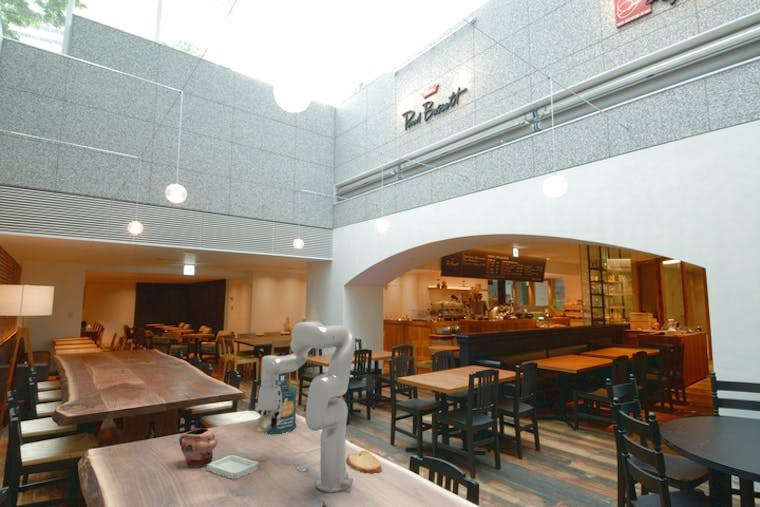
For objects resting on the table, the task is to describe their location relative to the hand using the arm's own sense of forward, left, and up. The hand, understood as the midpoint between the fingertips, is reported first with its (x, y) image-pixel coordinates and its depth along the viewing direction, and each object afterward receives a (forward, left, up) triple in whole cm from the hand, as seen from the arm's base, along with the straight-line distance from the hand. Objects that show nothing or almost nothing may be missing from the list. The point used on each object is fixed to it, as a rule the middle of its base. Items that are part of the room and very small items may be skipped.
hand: (269, 425), depth 173 cm
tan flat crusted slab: (-38, -19, -16) cm, 46 cm away
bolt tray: (+7, +13, -15) cm, 21 cm away
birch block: (0, 0, 0) cm, 0 cm away
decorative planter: (+27, +17, -16) cm, 36 cm away
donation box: (+30, -35, -16) cm, 49 cm away
